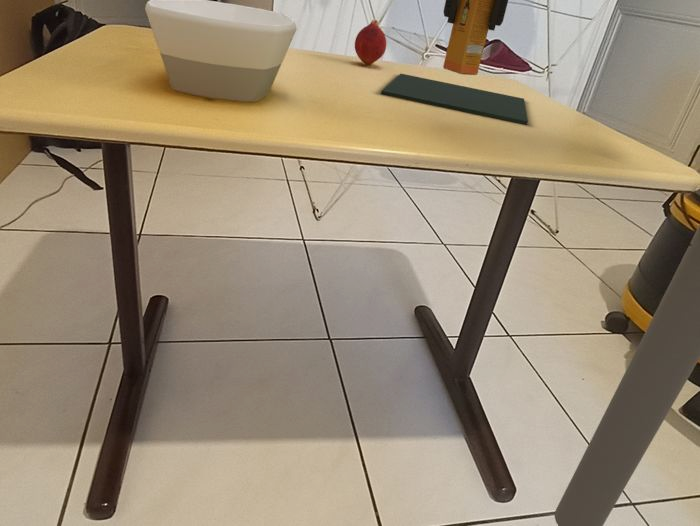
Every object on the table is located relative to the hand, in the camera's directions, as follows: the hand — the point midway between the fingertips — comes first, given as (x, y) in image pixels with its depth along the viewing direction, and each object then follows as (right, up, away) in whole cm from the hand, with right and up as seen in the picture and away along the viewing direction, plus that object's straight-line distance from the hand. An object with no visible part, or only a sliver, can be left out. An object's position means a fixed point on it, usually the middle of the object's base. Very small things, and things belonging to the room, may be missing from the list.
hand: (470, 25), depth 65 cm
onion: (-11, +9, +39) cm, 42 cm away
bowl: (-31, -6, +7) cm, 32 cm away
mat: (+3, -1, +25) cm, 25 cm away
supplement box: (-1, -5, +3) cm, 5 cm away
